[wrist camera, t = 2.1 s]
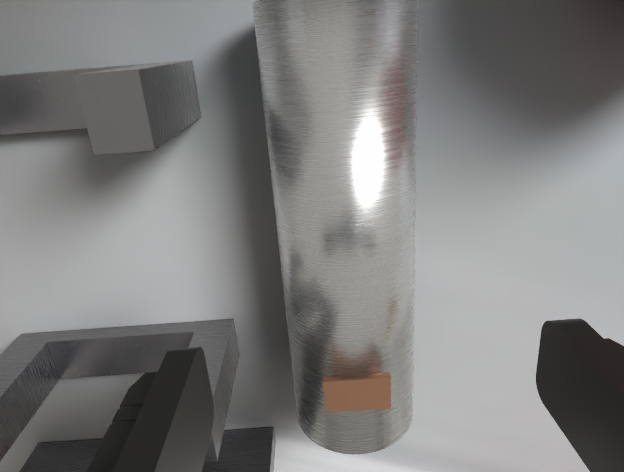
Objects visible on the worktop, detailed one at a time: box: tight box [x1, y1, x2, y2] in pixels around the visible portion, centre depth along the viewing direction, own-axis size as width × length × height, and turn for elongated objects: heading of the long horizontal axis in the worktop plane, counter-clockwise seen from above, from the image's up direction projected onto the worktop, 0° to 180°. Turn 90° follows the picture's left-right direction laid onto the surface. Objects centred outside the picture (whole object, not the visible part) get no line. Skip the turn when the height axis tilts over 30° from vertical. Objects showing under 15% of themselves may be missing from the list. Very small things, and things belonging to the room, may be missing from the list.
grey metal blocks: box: [0, 61, 201, 155], centre depth 15 cm, size 2×10×6 cm, turn 94°
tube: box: [252, 0, 418, 454], centre depth 17 cm, size 16×5×5 cm, turn 4°
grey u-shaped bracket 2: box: [0, 319, 239, 462], centre depth 19 cm, size 2×10×6 cm, turn 94°
